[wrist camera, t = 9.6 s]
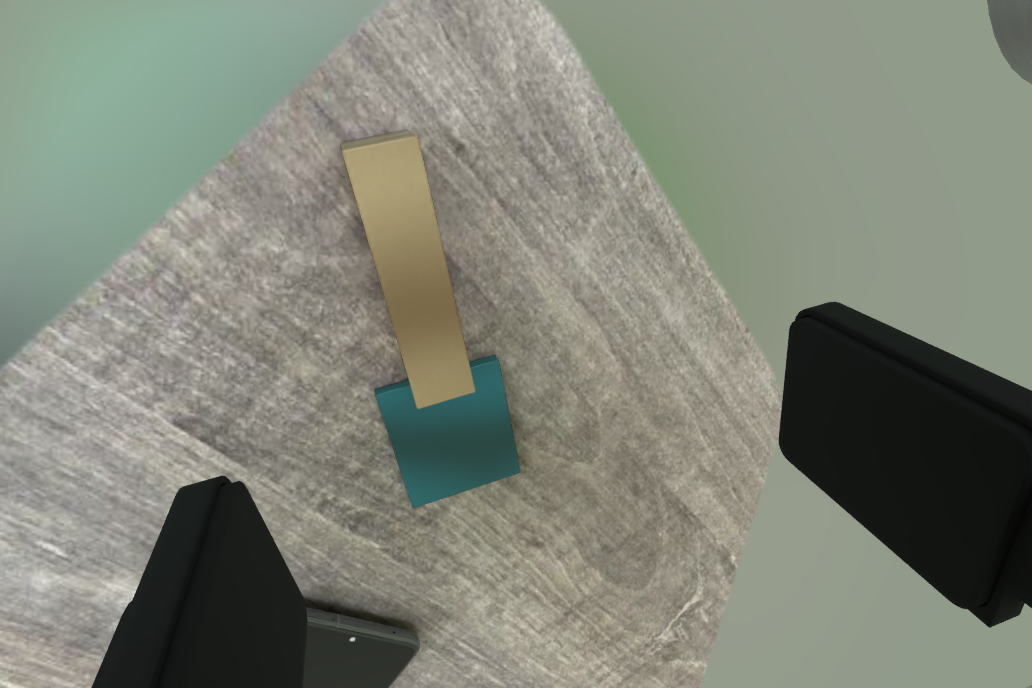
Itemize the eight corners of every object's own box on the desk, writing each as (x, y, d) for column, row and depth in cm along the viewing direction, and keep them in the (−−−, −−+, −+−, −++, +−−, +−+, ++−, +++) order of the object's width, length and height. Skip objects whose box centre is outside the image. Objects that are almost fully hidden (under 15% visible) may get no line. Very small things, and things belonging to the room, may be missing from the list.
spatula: (295, 151, 17) (290, 160, 15) (449, 120, 18) (464, 126, 16) (411, 501, 24) (419, 540, 22) (517, 466, 25) (534, 500, 23)
